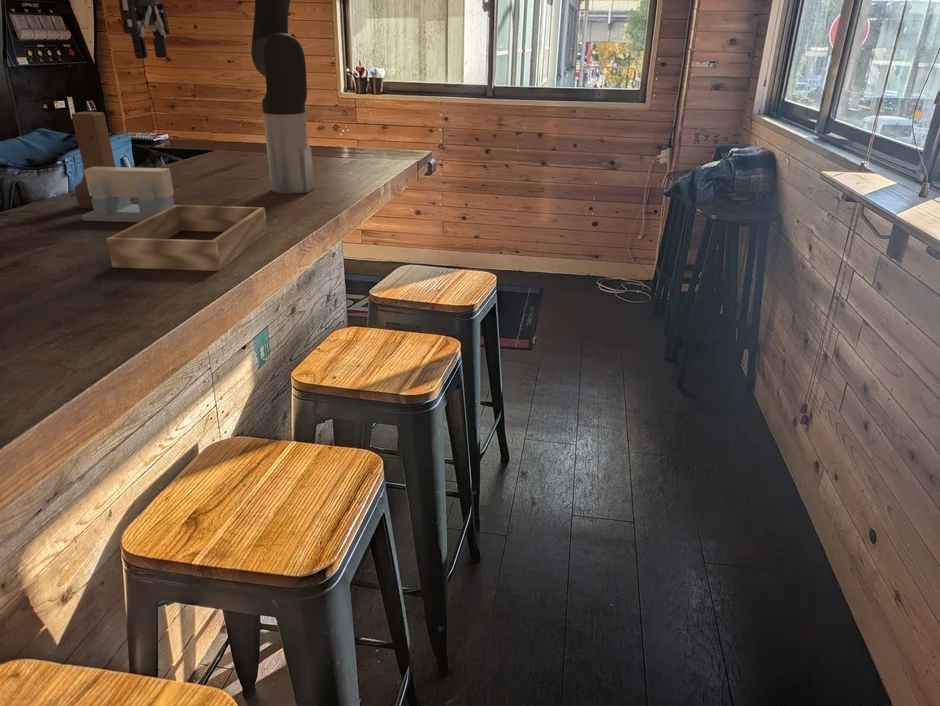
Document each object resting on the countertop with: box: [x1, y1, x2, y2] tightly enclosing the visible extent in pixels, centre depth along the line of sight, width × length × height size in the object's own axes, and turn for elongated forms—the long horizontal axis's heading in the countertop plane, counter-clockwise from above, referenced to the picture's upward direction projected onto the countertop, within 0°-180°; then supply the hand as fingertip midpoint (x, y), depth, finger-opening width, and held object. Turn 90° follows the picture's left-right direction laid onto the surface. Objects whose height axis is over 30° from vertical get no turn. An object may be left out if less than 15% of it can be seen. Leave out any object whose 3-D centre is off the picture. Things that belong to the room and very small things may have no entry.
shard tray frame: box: [105, 204, 268, 272], centre depth 109 cm, size 17×23×4 cm
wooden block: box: [71, 111, 117, 210], centre depth 133 cm, size 9×4×18 cm, turn 177°
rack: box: [81, 182, 175, 223], centre depth 127 cm, size 16×10×7 cm, turn 87°
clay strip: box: [83, 166, 175, 198], centre depth 126 cm, size 15×4×5 cm, turn 87°
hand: (152, 58), depth 134 cm, fingers open, 8 cm apart
